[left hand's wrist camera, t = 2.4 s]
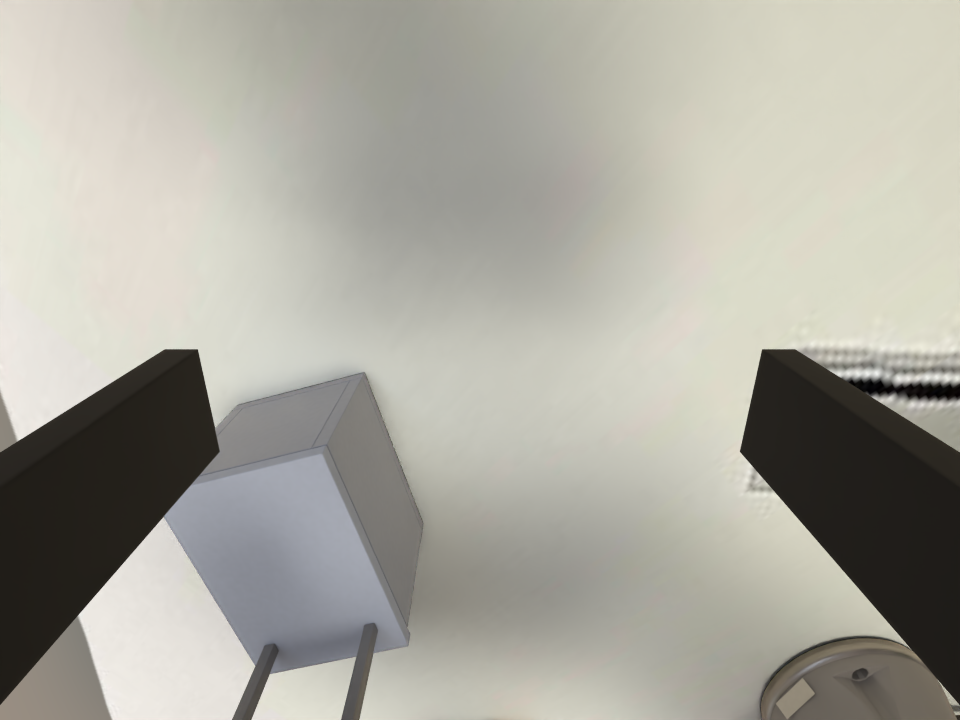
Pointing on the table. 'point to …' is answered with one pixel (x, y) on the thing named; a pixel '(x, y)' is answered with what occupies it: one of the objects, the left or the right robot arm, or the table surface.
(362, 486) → the chest
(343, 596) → the lid
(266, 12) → the table surface
